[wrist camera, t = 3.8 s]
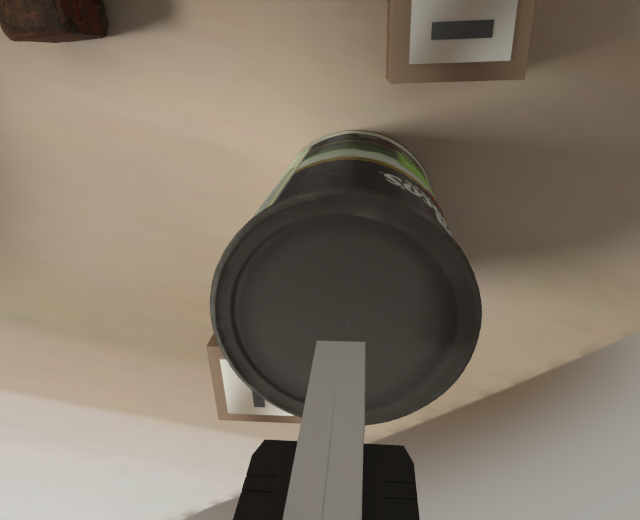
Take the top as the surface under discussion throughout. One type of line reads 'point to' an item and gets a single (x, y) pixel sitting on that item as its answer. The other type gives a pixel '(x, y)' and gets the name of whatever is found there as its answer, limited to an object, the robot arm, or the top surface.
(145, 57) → the top surface
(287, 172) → the coffee can
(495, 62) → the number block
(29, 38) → the brick
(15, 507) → the top surface
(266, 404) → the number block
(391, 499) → the robot arm
